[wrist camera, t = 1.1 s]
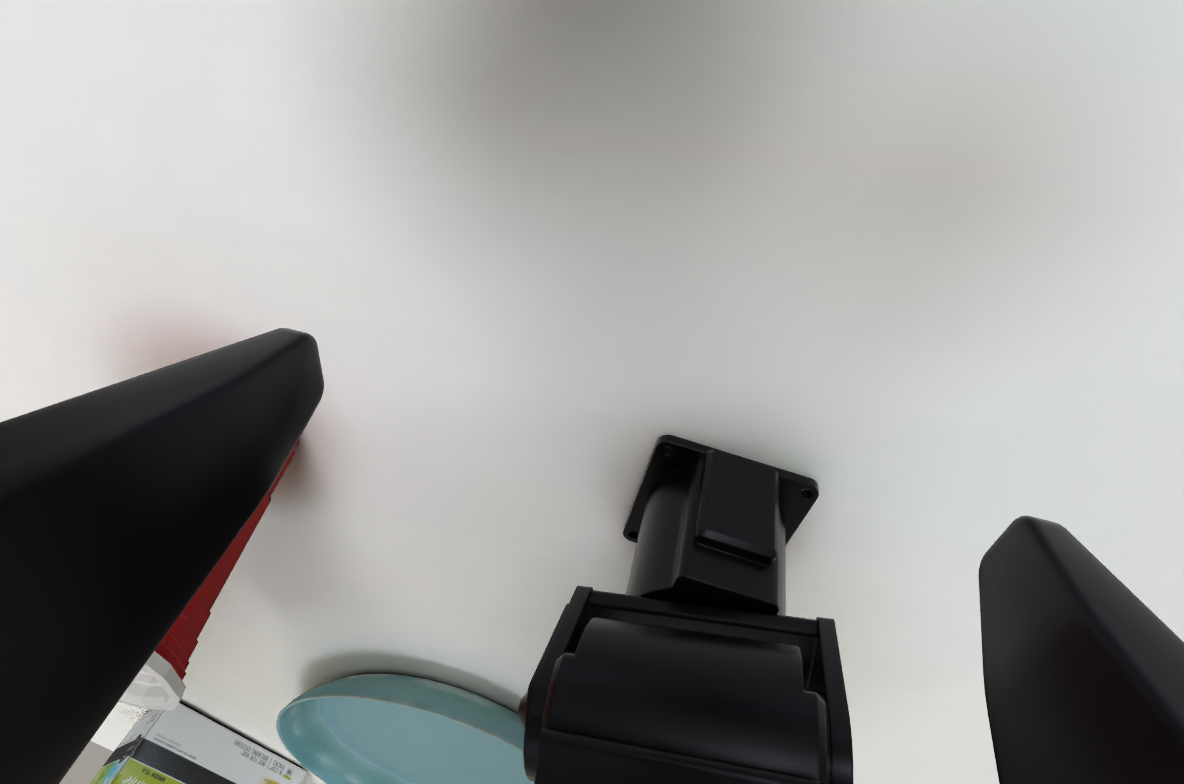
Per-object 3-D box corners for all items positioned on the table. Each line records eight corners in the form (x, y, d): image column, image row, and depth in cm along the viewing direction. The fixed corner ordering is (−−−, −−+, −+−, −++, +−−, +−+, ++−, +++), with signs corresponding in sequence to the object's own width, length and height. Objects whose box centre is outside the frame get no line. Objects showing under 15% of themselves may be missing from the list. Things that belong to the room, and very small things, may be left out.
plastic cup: (140, 435, 34) (-98, 645, 25) (127, 278, 27) (-211, 488, 18) (332, 524, 35) (173, 756, 26) (369, 395, 28) (168, 651, 19)
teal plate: (441, 808, 61) (426, 849, 58) (243, 670, 51) (214, 712, 48) (662, 809, 49) (655, 860, 46) (461, 628, 39) (438, 681, 36)
